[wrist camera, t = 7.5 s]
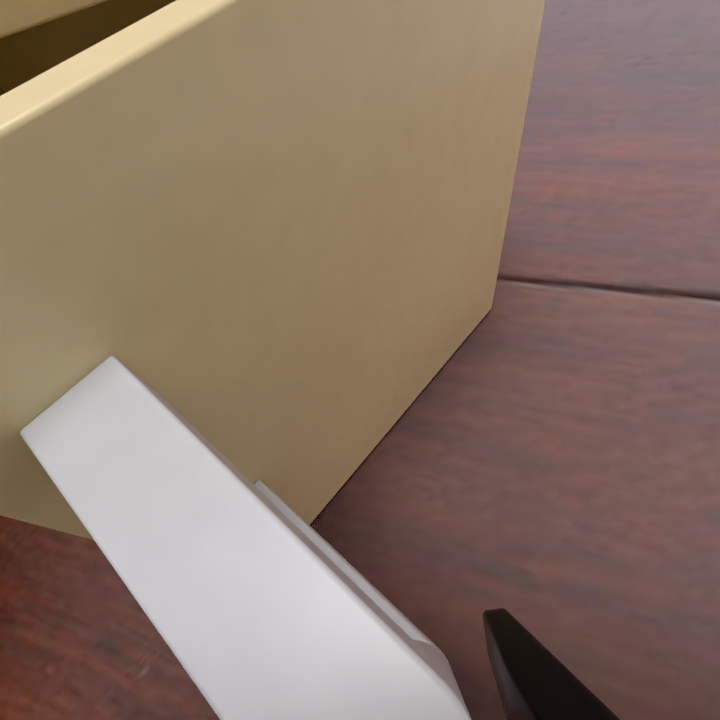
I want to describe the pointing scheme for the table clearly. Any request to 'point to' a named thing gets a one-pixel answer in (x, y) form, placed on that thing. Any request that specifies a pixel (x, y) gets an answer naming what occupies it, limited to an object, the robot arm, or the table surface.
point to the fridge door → (252, 313)
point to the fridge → (58, 32)
